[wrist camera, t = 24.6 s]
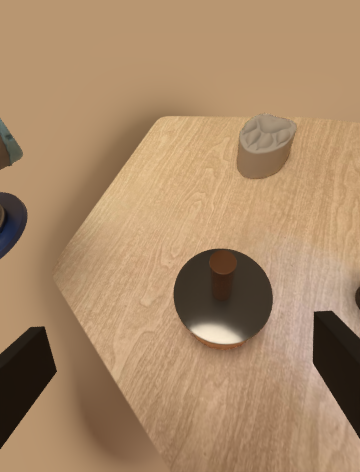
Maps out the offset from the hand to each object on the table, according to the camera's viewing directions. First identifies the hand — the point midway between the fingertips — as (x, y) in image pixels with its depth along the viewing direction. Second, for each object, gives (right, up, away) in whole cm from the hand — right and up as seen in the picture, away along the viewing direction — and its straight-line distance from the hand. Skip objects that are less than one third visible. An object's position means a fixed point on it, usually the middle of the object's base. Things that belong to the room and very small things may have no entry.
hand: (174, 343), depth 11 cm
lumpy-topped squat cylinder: (+19, +23, +44) cm, 54 cm away
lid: (+6, -2, +20) cm, 20 cm away
